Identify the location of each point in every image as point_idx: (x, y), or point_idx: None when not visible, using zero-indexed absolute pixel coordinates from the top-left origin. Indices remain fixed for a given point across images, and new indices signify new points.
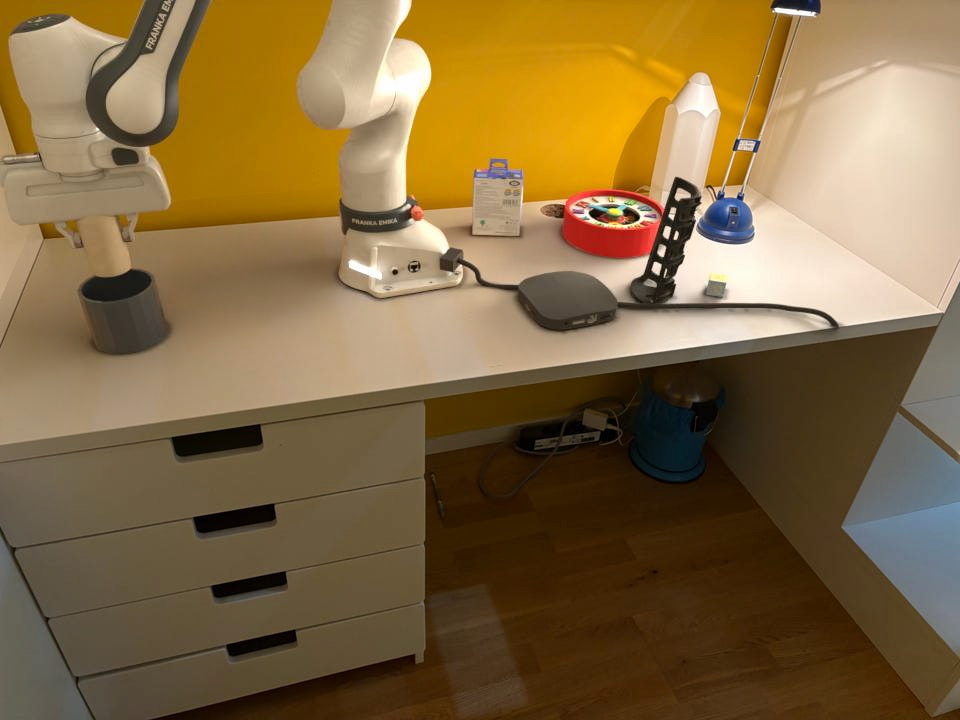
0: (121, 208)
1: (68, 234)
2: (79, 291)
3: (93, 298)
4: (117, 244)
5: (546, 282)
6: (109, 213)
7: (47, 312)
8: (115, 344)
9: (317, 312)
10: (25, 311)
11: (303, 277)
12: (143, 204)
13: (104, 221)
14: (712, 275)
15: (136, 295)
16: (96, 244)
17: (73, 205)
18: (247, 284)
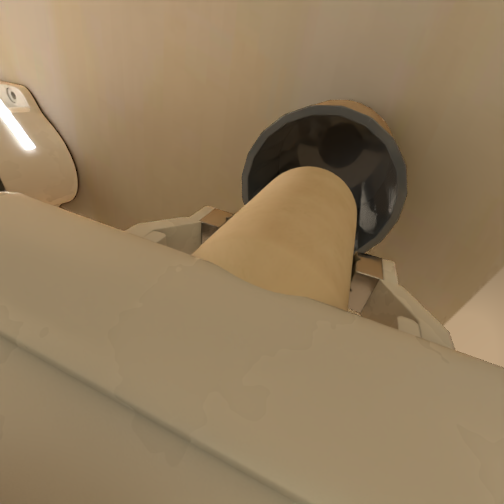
0: (120, 249)
1: (395, 293)
2: (396, 210)
3: (363, 227)
4: (252, 199)
5: None
6: (186, 260)
7: (415, 296)
8: (370, 108)
9: (91, 90)
10: (442, 315)
11: (113, 193)
12: (34, 224)
13: (228, 237)
14: None
15: (287, 119)
16: (313, 208)
17: (328, 379)
18: (170, 214)
